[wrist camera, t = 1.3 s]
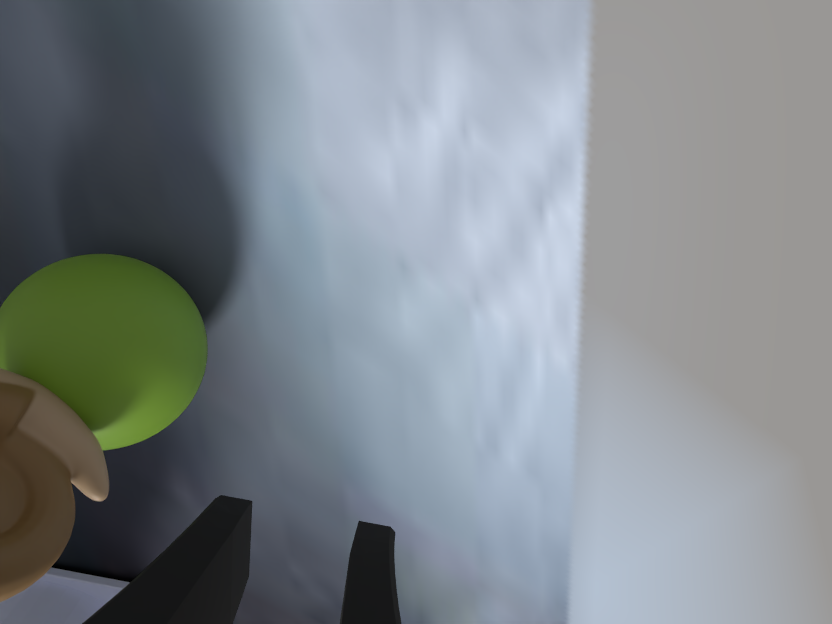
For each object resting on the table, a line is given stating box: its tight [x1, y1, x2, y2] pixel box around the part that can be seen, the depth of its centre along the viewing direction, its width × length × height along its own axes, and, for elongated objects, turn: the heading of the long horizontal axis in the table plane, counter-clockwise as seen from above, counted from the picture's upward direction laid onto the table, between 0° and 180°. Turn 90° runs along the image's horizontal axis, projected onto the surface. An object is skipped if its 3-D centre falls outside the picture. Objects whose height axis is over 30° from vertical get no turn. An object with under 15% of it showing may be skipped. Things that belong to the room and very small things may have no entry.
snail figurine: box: [0, 254, 208, 602], centre depth 14 cm, size 5×6×12 cm
